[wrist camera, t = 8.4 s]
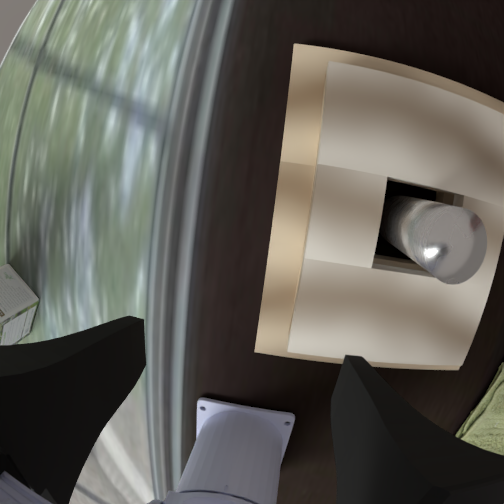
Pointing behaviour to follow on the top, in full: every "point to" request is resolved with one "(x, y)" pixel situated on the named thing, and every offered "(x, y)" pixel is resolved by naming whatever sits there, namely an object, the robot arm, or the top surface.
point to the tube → (435, 236)
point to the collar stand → (375, 212)
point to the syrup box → (15, 307)
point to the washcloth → (487, 418)
